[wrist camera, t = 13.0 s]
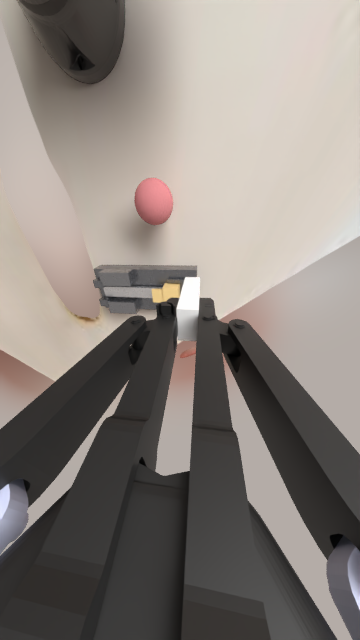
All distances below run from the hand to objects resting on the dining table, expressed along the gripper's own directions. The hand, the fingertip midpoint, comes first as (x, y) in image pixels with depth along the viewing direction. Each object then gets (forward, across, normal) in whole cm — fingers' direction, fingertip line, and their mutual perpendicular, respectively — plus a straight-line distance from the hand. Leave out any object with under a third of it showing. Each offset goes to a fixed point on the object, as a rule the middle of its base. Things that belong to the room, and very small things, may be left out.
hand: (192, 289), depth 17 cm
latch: (+25, -8, -11) cm, 29 cm away
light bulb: (+30, -8, +8) cm, 32 cm away
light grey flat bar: (+25, -17, -11) cm, 32 cm away
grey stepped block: (+29, -14, -11) cm, 35 cm away
